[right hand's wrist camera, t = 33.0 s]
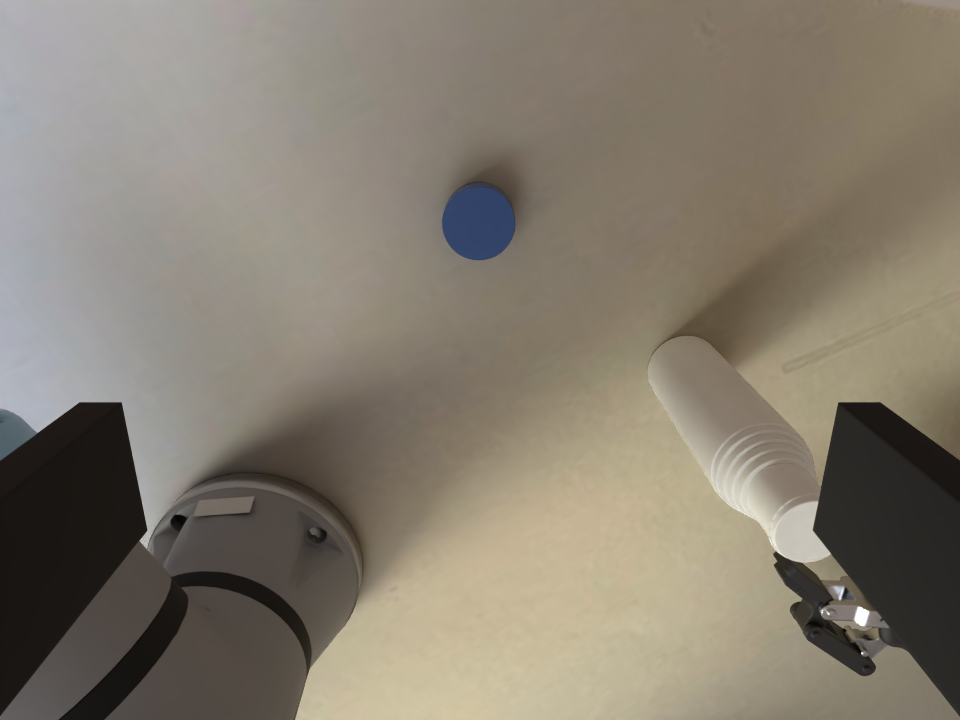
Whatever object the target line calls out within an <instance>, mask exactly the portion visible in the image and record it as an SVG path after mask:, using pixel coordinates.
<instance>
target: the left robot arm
mask: <svg viewBox="0 0 960 720" xmlns="http://www.w3.org/2000/svg"><path fill="white" fill-rule="evenodd" d="M773 555H774V557H775V558H776V560H777V561H778V562H777V563H775V564H774V566H775V569H776V571H777V572H778V574H779V575H780V577H781V579H782V580H783V582H784V583H785V585H786V586H787V587H789V588H790V589H791V590H792V591H794V592H795V593H796V594H798V595H799V596H800V597H801V598H803V599H802V601H801V602H796V603H794V604H793V605H792V606H791V608H790V612H791V614H792V616H793V617H794V619H796V621H797V622H798V624H799V626H800V627H801V629H802V631H803V633H804V635H805V637H806V638H807V640H808V641H810V642H811V643H813V644H814V645H816V646H817V647H819V648H820V649H822V650H823V651H825V652H826V653H828V654H829V655H831V656H832V657H834V658H835V659H837V660H838V661H840V662H841V663H843V664H844V665H846V666H847V667H849V668H850V669H852V670H853V671H855V672H856V673H858V674H859V675H861V676H868V675H871V674H872V673H873V672H874V671H875V669H876V666H875V664H874V663H873V661H872V660H871V658H873V657H874V656H875V655H876V654H877V653H879V652H880V651H881V650H882V649H883V648H885V647H886V646H887V645H889V646H893V647H899V648H903V649H905V650H907V649H906V648H905V647H904V645H903V644H902V643H901V641H900V640H899V639H898V638H897V636H896V635H895V634H894V633H893V631H892V630H891V629H890V628H889V626H888V625H887V624H886V623H885V621H884V620H883V619H882V617H881V616H880V615H879V614H878V612H877V611H876V610H875V609H874V607H873V606H872V605H871V604H870V602H869V601H868V600H867V599H866V597H865V596H864V595H863V593H862V592H861V591H860V590H859V588H858V587H857V586H856V585H855V583H854V582H853V581H852V580H851V578H850V577H848V576H843V577H841V578H840V581H828V580H820V579H819V578H818V576H817V575H816V574H815V573H814V572H812V571H811V570H810V569H809V568H808V567H806V566H805V565H804V564H803V563H801V562H796V561H793V560H790V559H788V558H785V557H784V556H782V555H781V554H779V553H778V552H777V551H776V552H775V553H774V554H773ZM831 620H836V621H854V622H857V623H858V624H860V625H862V626H864V627H872V628H871V629H869V630H867V631H860V630H858V629H852V628H851V627H850V626H848V625H847V626H845V627H844V628H841V627H840V626H838V625H837V624H835V623H834V622H832V621H831ZM907 651H908V650H907Z"/></svg>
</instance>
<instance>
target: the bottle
mask: <svg viewBox="0 0 960 720" xmlns="http://www.w3.org/2000/svg"><path fill="white" fill-rule="evenodd" d="M647 373H648V380H649V383H650V386H651V388H652V389H653V391H654V392H655V394H656V396H657V397H658V399H659V401H660V402H661V404H662V405H663V407H664V409H665V410H666V412H667V413H668V415H669V417H670V418H671V420H672V422H673V423H674V425H675V426H676V428H677V430H678V431H679V433H680V434H681V436H682V438H683V439H684V441H685V443H686V444H687V446H688V447H689V449H690V451H691V452H692V454H693V455H694V457H695V459H696V460H697V462H698V464H699V465H700V467H701V468H702V470H703V472H704V473H705V475H706V476H707V478H708V480H709V481H710V483H711V485H712V486H713V488H714V489H715V491H716V492H717V494H718V495H719V496H720V497H721V498H722V499H723V500H724V501H725V502H726V503H727V504H728V505H729V506H731V507H732V508H734V509H736V510H738V511H740V512H741V513H743V514H745V515H747V516H749V517H751V518H753V519H754V520H756V521H758V522H759V523H760V525H761V526H762V528H763V529H764V530H765V532H766V533H767V535H768V537H769V540H770V542H771V545H772V546H773V548H774V549H775V550H776V551H777V552H778V553H779V554H781V555H782V556H784V557H785V558H788V559H790V560H793V561H796V562H814V561H818V560H821V559H823V558H826V557H827V556H829V555H831V553H830V552H829V551H828V549H827V548H826V547H825V545H824V544H823V543H822V542H821V540H820V539H819V538H818V537H817V535H816V534H815V533H814V532H813V526H814V521H815V516H816V511H817V506H818V501H819V496H820V491H821V487H820V485H819V484H818V481H817V477H816V472H815V467H814V463H813V458H812V454H811V452H810V450H809V448H808V447H807V445H806V443H805V441H804V440H803V438H802V437H801V436H800V435H799V434H798V433H797V432H796V431H795V430H794V429H793V428H792V427H791V426H790V425H789V424H788V423H787V422H786V421H785V420H784V419H783V418H782V417H781V416H780V415H779V413H778V412H777V411H776V410H775V409H774V408H773V407H772V406H771V405H770V404H769V403H768V402H767V401H766V400H765V399H764V398H763V397H762V396H761V395H760V394H759V393H758V392H757V391H756V390H755V389H754V388H753V387H752V386H751V385H750V384H749V383H748V382H747V381H746V380H745V379H744V378H743V377H742V376H741V375H740V374H739V373H738V372H737V371H736V370H735V369H734V368H733V367H732V366H731V365H730V364H729V363H728V362H727V361H726V360H725V359H724V358H723V357H722V356H721V355H720V354H719V353H718V352H717V351H716V350H715V349H714V348H713V346H712V345H711V344H709V343H708V342H707V341H705V340H703V339H701V338H699V337H695V336H680V337H675V338H673V339H670V340H668V341H666V342H665V343H663V344H662V345H661V346H660V347H659V348H658V349H657V350H656V351H655V352H654V354H653V355H652V357H651V359H650V362H649V365H648V371H647Z"/></svg>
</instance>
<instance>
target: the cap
mask: <svg viewBox="0 0 960 720" xmlns="http://www.w3.org/2000/svg"><path fill="white" fill-rule="evenodd" d="M442 227H443V233H444V236H445V238H446V240H447V242H448V244H449V245H450V247H451V248H452V249H453V250H454V251H455V252H457V253H458V254H459V255H461V256H463V257H465V258H468V259H472V260H485V259H489V258H492V257H494V256H496V255H498V254H500V253H501V252H502V251H503V250H504V249H505V248H506V247H507V246H508V244H509V243H510V241H511V239H512V237H513V234H514V230H515V217H514V213H513V209H512V206H511V204H510V202H509V200H508V198H507V197H506V195H505V194H504V193H503V192H502V191H501V190H500V189H498V188H497V187H495V186H493V185H491V184H488V183H482V182H475V183H470V184H467V185H464V186H462V187H461V188H459V189H458V190H457V191H456V192H454V194H453V195H452V196H451V197H450V199H449V201H448V203H447V205H446V208H445V211H444V214H443V220H442Z"/></svg>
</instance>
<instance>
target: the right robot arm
mask: <svg viewBox="0 0 960 720" xmlns="http://www.w3.org/2000/svg"><path fill="white" fill-rule="evenodd" d="M146 532H147V526H146V521H145V516H144V511H143V506H142V501H141V496H140V491H139V486H138V481H137V476H136V471H135V466H134V461H133V456H132V451H131V447H130V442H129V437H128V432H127V427H126V422H125V417H124V412H123V407H122V402H80V403H78V404H77V405H76V406H74V407H73V408H72V409H70V410H69V411H67V412H66V413H65V414H63V415H62V416H61V417H59V418H58V419H56V420H55V421H54V422H52V423H51V424H50V425H48V426H47V427H45V428H44V429H43V430H41V431H40V432H39V433H36V432H35V431H34V430H33V429H32V428H31V427H30V426H29V425H28V424H27V423H26V422H25V421H24V420H23V419H22V418H21V417H19V416H18V415H16V414H14V413H12V412H10V411H7V410H4V409H0V720H295V718H296V714H297V711H298V707H299V704H300V700H301V697H302V693H303V690H304V686H305V682H306V679H307V676H308V672H309V669H310V667H311V666H312V665H313V664H314V663H315V661H316V660H317V659H318V658H319V656H320V655H321V654H322V653H323V651H324V650H325V649H326V648H327V646H328V645H329V644H330V643H331V641H332V640H333V639H334V638H335V636H336V635H337V634H338V633H339V632H340V630H341V629H342V628H343V627H344V626H345V624H346V623H347V621H348V620H349V618H350V616H351V614H352V612H353V610H354V607H355V604H356V601H357V597H358V593H359V589H360V585H361V580H362V572H363V563H362V555H361V551H360V547H359V544H358V541H357V539H356V536H355V534H354V532H353V530H352V529H351V527H350V525H349V524H348V522H347V521H346V520H345V518H344V517H343V516H342V515H341V513H340V512H339V511H338V510H337V509H336V508H335V507H334V506H333V505H332V504H330V503H329V502H328V501H327V500H326V499H324V498H323V497H322V496H320V495H319V494H317V493H316V492H314V491H312V490H311V489H309V488H307V487H305V486H303V485H301V484H298V483H296V482H293V481H291V480H288V479H284V478H281V477H277V476H272V475H266V474H257V473H238V474H230V475H225V476H220V477H217V478H213V479H210V480H208V481H205V482H203V483H201V484H199V485H197V486H195V487H193V488H192V489H190V490H189V491H187V492H186V493H185V494H183V495H182V496H181V497H180V498H179V499H178V500H177V501H176V502H175V503H174V504H173V505H172V507H171V508H170V509H169V510H168V512H167V513H166V514H165V516H164V517H163V518H162V519H161V521H160V522H159V524H158V525H157V526H156V528H155V530H154V532H153V534H152V536H151V538H150V541H149V544H148V548H147V549H146V548H145V547H144V546H143V545H142V544H141V543H140V541H139V540H140V539H141V538H142V537H143V535H144V534H145V533H146ZM813 532H814V533H815V534H816V535H817V537H818V538H819V539H820V540H821V542H822V543H823V544H824V545H825V547H826V548H827V549H828V551H829V552H830V553H831V554H832V556H833V557H834V558H835V559H836V561H837V562H838V563H839V564H840V566H841V567H842V568H843V569H844V571H845V572H846V573H847V575H848V576H849V577H850V578H851V580H852V581H853V582H854V583H855V585H856V586H857V587H858V588H859V590H860V591H861V592H862V593H863V595H864V596H865V597H866V599H867V600H868V601H869V602H870V604H871V605H872V606H873V607H874V609H875V610H876V611H877V612H878V614H879V615H880V616H881V617H882V619H883V620H884V621H885V623H886V624H887V625H888V626H889V628H890V629H891V630H892V631H893V633H894V634H895V635H896V636H897V638H898V639H899V640H900V641H901V643H902V644H903V645H904V647H905V648H906V649H907V650H908V652H909V653H910V654H911V655H912V657H913V658H914V659H915V660H916V662H917V663H918V664H919V665H920V667H921V668H922V669H923V671H924V672H925V673H926V674H927V676H928V677H929V678H930V679H931V681H932V682H933V683H934V684H935V686H936V687H937V688H938V689H939V691H940V692H941V693H942V695H943V696H944V697H945V698H946V700H947V701H948V702H949V703H950V705H951V706H952V707H953V708H954V710H955V711H956V712H957V713H958V715H959V716H960V460H958V459H957V458H956V457H954V456H953V455H952V454H950V453H949V452H947V451H946V450H945V449H943V448H942V447H941V446H939V445H938V444H936V443H935V442H934V441H932V440H931V439H930V438H928V437H927V436H925V435H924V434H923V433H921V432H920V431H919V430H917V429H916V428H915V427H913V426H912V425H910V424H909V423H908V422H906V421H905V420H904V419H902V418H901V417H899V416H898V415H897V414H895V413H894V412H893V411H891V410H890V409H888V408H887V407H886V406H884V405H883V404H882V403H880V402H838V407H837V412H836V417H835V422H834V427H833V432H832V437H831V442H830V447H829V451H828V456H827V461H826V466H825V471H824V476H823V481H822V486H821V491H820V496H819V501H818V506H817V511H816V516H815V521H814V526H813Z"/></svg>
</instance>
